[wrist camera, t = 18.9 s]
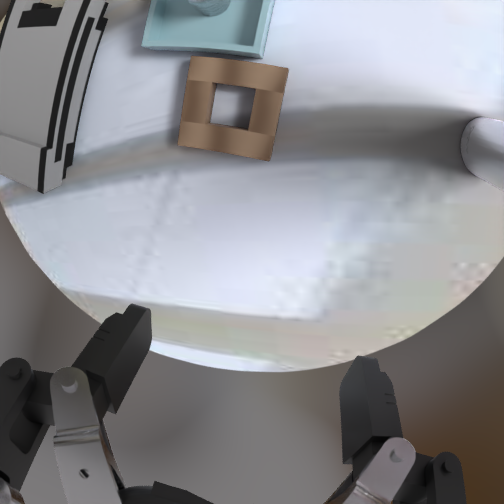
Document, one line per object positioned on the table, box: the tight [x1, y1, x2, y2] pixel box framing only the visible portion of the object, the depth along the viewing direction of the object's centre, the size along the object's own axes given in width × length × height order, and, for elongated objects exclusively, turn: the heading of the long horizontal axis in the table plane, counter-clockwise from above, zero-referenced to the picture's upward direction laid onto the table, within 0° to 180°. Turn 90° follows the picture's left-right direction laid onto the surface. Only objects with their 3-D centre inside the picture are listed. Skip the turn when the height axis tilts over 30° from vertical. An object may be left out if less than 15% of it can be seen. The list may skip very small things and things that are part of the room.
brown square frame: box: [178, 56, 289, 161], centre depth 35 cm, size 12×12×2 cm
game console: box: [0, 0, 108, 194], centre depth 32 cm, size 21×32×8 cm, turn 160°
